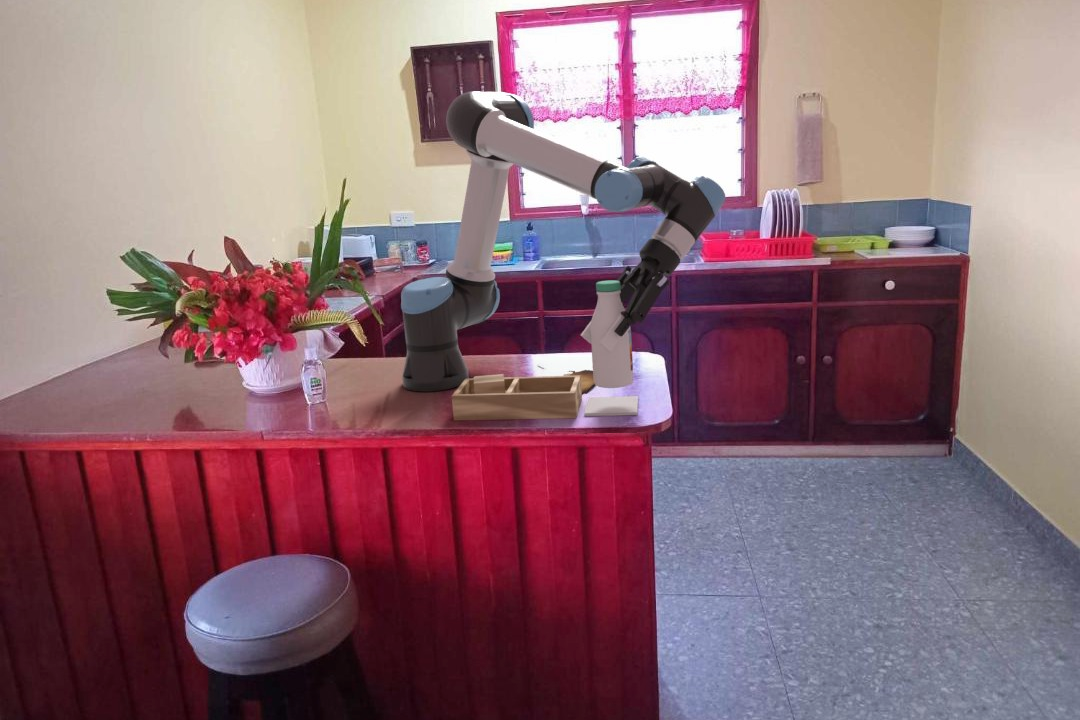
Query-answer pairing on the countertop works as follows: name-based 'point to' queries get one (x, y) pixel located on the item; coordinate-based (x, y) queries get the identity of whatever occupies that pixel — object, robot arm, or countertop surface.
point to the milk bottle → (606, 365)
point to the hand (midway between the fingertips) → (595, 343)
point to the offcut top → (489, 384)
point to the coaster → (612, 406)
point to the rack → (520, 399)
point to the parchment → (584, 379)
